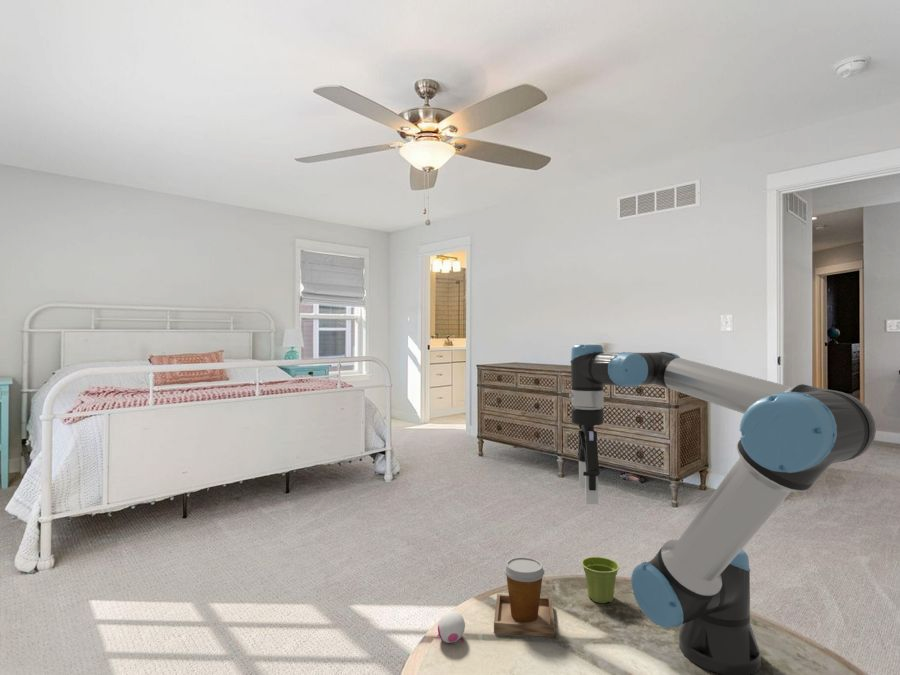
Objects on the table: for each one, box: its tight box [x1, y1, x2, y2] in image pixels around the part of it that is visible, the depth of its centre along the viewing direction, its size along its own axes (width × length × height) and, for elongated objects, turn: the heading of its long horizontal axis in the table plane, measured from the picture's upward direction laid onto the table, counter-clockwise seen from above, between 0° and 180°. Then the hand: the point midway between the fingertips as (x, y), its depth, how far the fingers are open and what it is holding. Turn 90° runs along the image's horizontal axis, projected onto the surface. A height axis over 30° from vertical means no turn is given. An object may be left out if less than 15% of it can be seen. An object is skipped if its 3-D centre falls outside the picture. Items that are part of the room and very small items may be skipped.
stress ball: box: [435, 610, 466, 644], centre depth 111 cm, size 8×8×7 cm
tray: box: [493, 593, 556, 638], centre depth 119 cm, size 14×14×2 cm
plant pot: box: [581, 556, 620, 604], centre depth 129 cm, size 9×9×9 cm
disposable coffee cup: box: [503, 556, 545, 622], centre depth 119 cm, size 10×10×12 cm
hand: (588, 495), depth 121 cm, fingers open, 13 cm apart
